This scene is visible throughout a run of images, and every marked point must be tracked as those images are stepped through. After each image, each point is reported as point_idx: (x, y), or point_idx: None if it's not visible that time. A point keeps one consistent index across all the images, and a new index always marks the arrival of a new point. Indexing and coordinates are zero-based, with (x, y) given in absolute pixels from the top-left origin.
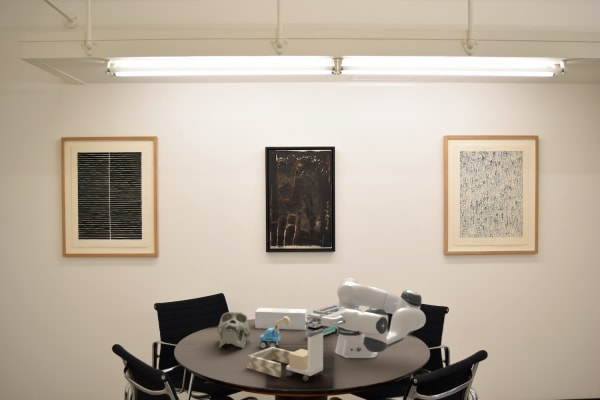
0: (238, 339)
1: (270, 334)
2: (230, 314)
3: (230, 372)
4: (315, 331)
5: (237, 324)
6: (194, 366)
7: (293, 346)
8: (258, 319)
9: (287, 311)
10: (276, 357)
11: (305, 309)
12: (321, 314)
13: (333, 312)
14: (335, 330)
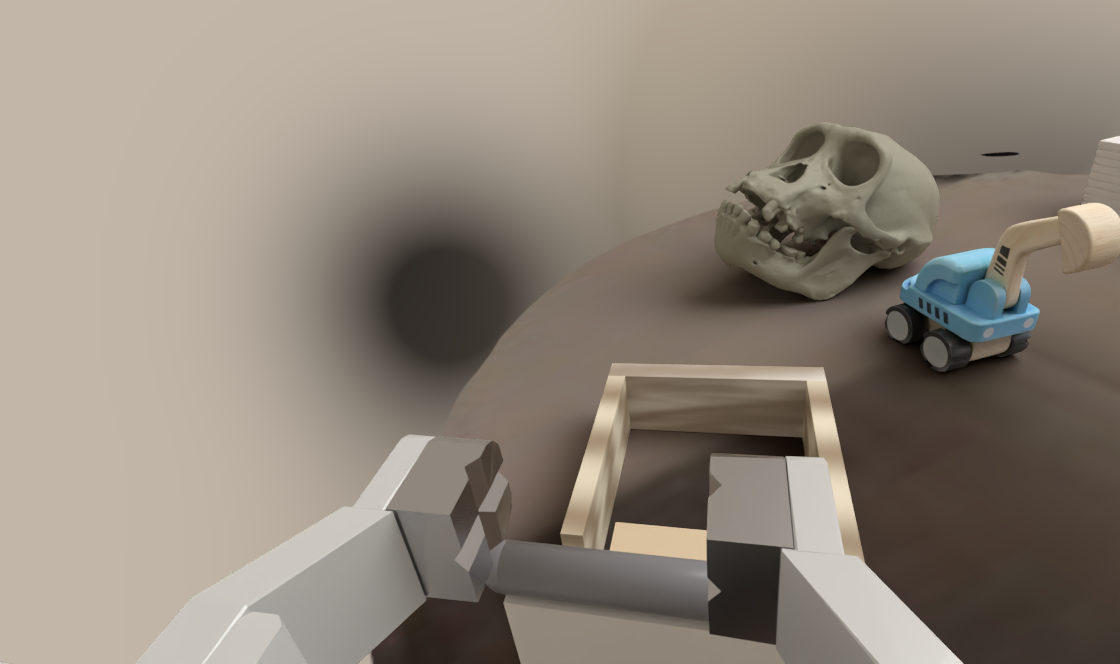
0: (789, 258)
1: (950, 287)
2: (824, 134)
3: (534, 398)
4: (647, 576)
5: (787, 188)
6: (539, 308)
7: (1104, 410)
8: (1106, 183)
9: None
10: (806, 441)
11: None
12: (397, 446)
13: (858, 652)
14: None
